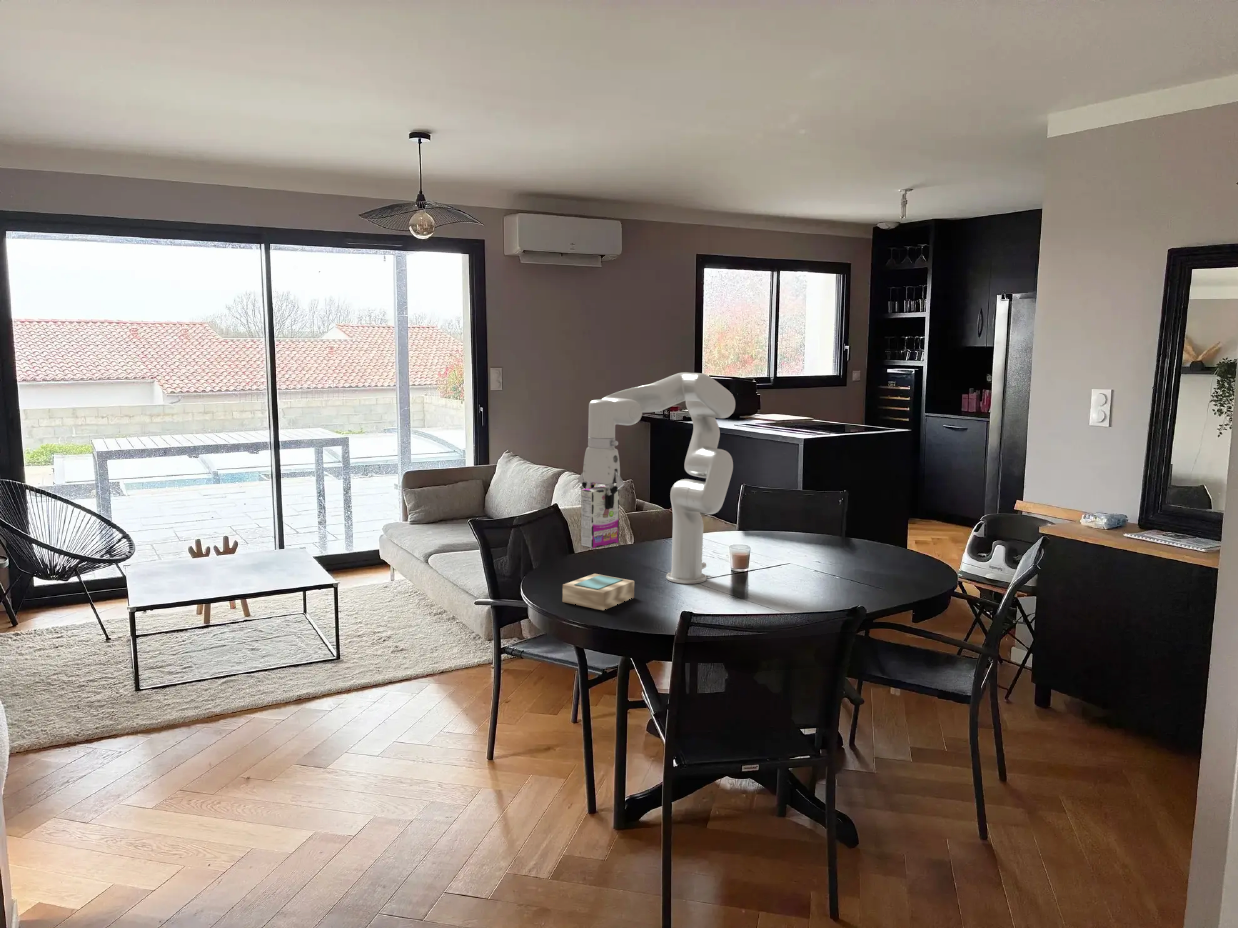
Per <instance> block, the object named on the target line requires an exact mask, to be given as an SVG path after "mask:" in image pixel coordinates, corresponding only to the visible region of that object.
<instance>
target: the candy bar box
mask: <svg viewBox="0 0 1238 928" xmlns="http://www.w3.org/2000/svg"><path fill="white" fill-rule="evenodd" d="M580 490H581V491H580V493H581V494H580V496H581V498H580V500H581V501H580V503H581V507H580V515H581V516H580V518H581V519H580V524H581V525H580V546H582V547H584V548H589V549H596V548H601V547H605V546H610V545H614V544H618V543H619V537H620V536H619V535H620V532H619V530H620V526H619V524H620V522H619V521H620V516H619V515H620V489H619V490H618V491H617V492H616V494H614V505H613V508H611V509H606V508H605V498H606V495H607V490H606V486H605V485H602V486H595V487H594V488H588V489H580Z"/></svg>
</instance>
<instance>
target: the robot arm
mask: <svg viewBox="0 0 1238 928" xmlns="http://www.w3.org/2000/svg"><path fill="white" fill-rule="evenodd" d="M682 402H685V407H686V409H687V411H688V413H689V416H690V418H691V421H692V425H693V429H692V435H691V439H690V441H689V446H688V448H687V452H686V456H685V459H684V471H685V472H686V473H687V474H688V475H690V476H693V477H698V478H702V479H705V481H701V480H697V479H696V480H695V479H689V478H684V479H683V478H682V479H680V480H677V481H676V482H674V484H673V485H672V487H671V488H670V493H669V494H670V495H669V497H670V503H671V509H672V534H671V535H672V536H671V537H672V539H671V540H672V541H671V571H670V572H668V573H666V577H665V578H666V579H667V580H668V581H670V582H672V583H677V584H685V585H686V584H688V585H689V584H693V585H694V584H701V583H704V582H705V581H707V575H706V574H704V573H703V569H705V568H707V563H706V562H703V545H704V544H703V543H704V542H703V541H704V520H703V517H702V515H701V514H706V515H714V514H716V513H719V511H720V510H721V509H722V508H723V504H724V502H725V498H726V496H727V492H728V490H729V489H728V488H729V486H730V481H731V478H732V474H733V470H734V462H733V461H734V460H733V457H732V455H731V454H730V453H729V452H728V451H727V450H724V449H722V448H718V447H719V443H720V442H719V441H720V437H721V432H720V426H719V423H718V421H717V419H726V418H729V417H730V416H731V415H732V414H734V412H735V409H736V399H735V397H734V395H733V394H732V392H730V390H728V389H727V388H726V387H724V386H723V385H722V384H721V383H719V382H718V381H717V380H715V379H714V378H713V377H711V376H709V375H708V374H705V373H700V372H687V371H685V372H678V373H675V374H673V375H669V376H667V377H665V378H662V379H660V380H656V381H654V382H652V383H649V384H644V385H640V386H635V387H631V388H626V389H623V390H620V391H616V392H614V393H611V394H609V395H608V394H607V395H606V396H604V397H602V398H601V399H593V400H592V399H591V401H590V402H589V403H588V430H587V431H588V435H587V436H588V437H587V441H588V442H587V447H586V449H585V453H584V457H583V468H582V472H581V474H580V475H579V476H578V478H577V480H578V482H579V483H580V484H581V485H582V487H583V488H584V489H588V488H594V487H596V485H597V484H598V485H602V486H606V490H607V495H606V498H605V508H606V509H611V508H613V505H614V494H616V492H617V491H618V490H619V491H620V489H621V488H623V486H624V485H625V481H624V480H623V478H622V477H621V465H620V455H619V450H618V449H617V448H616V447H617V446H618V445H619V441H618V440H616V425H620V426H632V425H635V424H636V423H638V422H640V421H641V418H642V416H643V413H654V412H662V411H664V410H666V409H668V408H669V409H670V408H671V407H672V406H675V405H678V404H680V403H682ZM716 418H717V419H716Z"/></svg>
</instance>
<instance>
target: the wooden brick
mask: <svg viewBox="0 0 1238 928" xmlns="http://www.w3.org/2000/svg"><path fill="white" fill-rule="evenodd" d="M631 598H632V599H634V598H635V580H632V579H627V578H626V579H625V578H620V577H614V576H609V575H603V574H600V573H599V574H598V573H593V574H589V575H587V576H584V577H580V578H578V579H575V580H572V581H570V582H569V581H568V582H565V583H563V584H562V599H561V600H562V603H566V604H571V605H575V604H576V605H575V606H581V607H585V608H591V609H594V610H600V611H606V610H608V609H610V608H612V607H615V606H617V604H618V605H620V604H623V603H625V602H627V601H629V599H630V600H632V599H631ZM624 601H625V602H624ZM605 609H606V610H605Z"/></svg>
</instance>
